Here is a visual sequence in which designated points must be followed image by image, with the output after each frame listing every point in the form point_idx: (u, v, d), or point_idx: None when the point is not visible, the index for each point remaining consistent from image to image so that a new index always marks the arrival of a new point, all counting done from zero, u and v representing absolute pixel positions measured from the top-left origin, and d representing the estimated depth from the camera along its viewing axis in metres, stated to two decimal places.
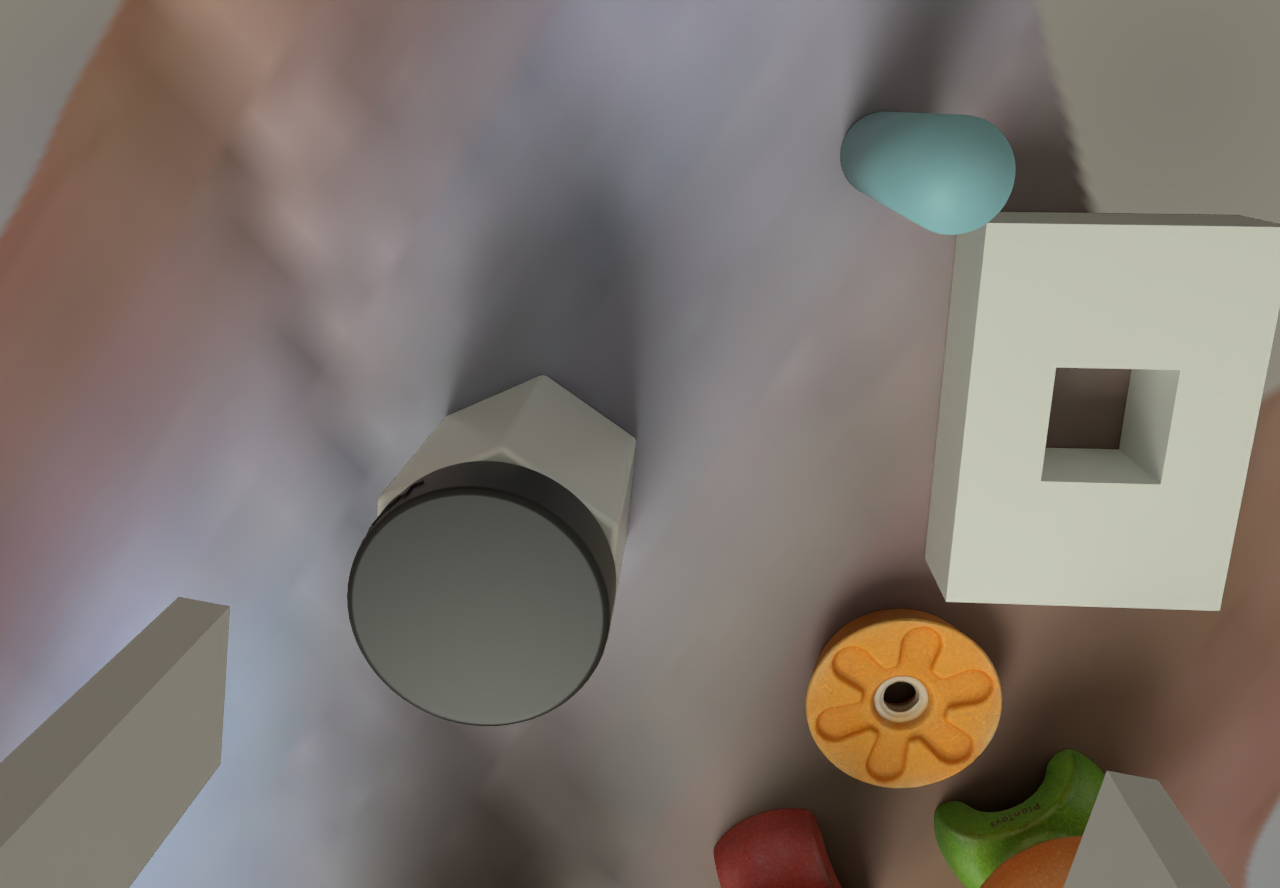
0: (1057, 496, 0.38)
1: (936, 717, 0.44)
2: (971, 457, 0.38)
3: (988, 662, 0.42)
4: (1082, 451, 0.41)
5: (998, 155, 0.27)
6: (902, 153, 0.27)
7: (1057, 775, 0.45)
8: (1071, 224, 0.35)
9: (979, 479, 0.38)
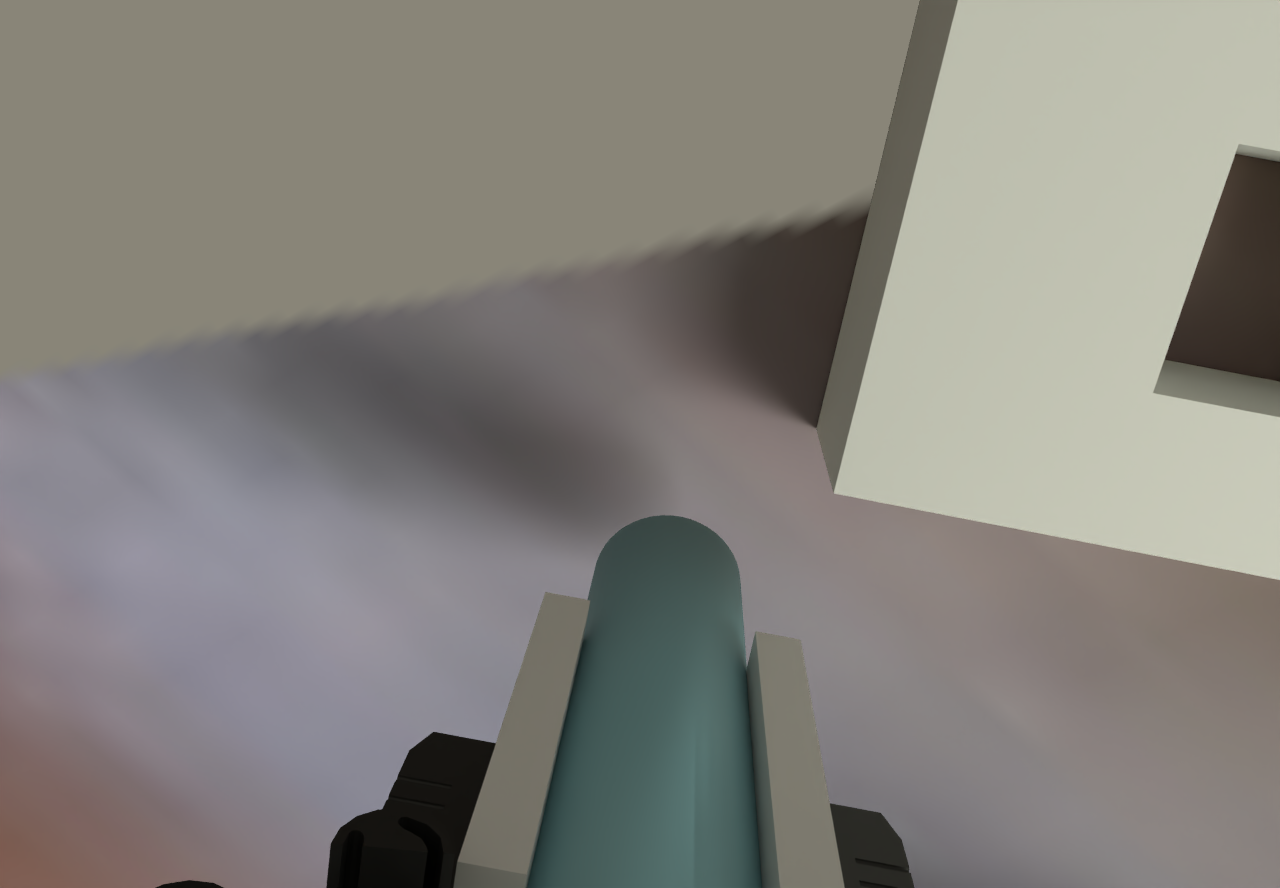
0: None
1: None
2: None
3: None
4: None
5: None
6: None
7: None
8: (871, 344, 0.18)
9: None
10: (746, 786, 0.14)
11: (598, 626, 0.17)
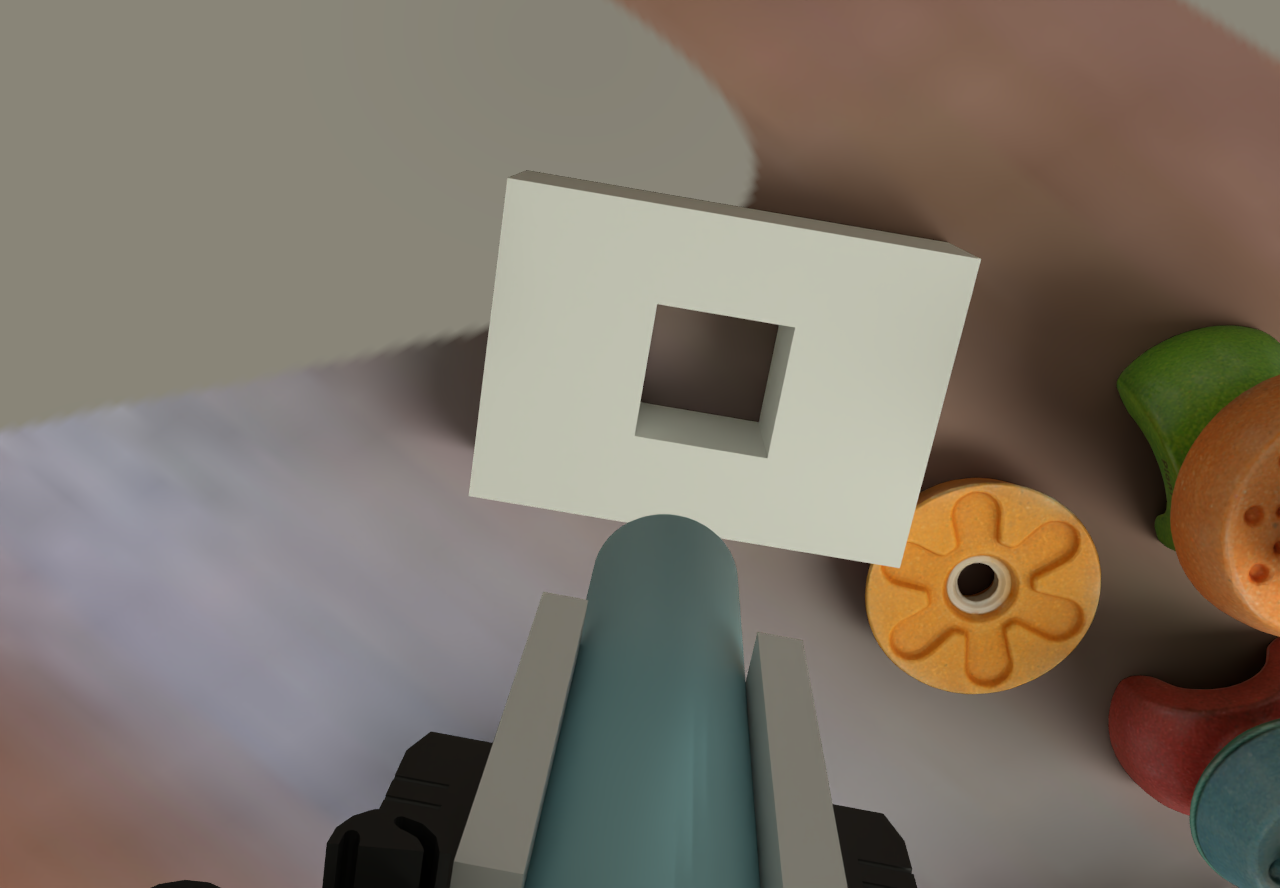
0: (790, 441, 0.33)
1: (1010, 554, 0.36)
2: (725, 528, 0.34)
3: (945, 495, 0.35)
4: (775, 350, 0.35)
5: None
6: None
7: (1138, 416, 0.35)
8: (479, 412, 0.33)
9: (753, 521, 0.33)
10: (743, 779, 0.14)
11: (596, 622, 0.18)
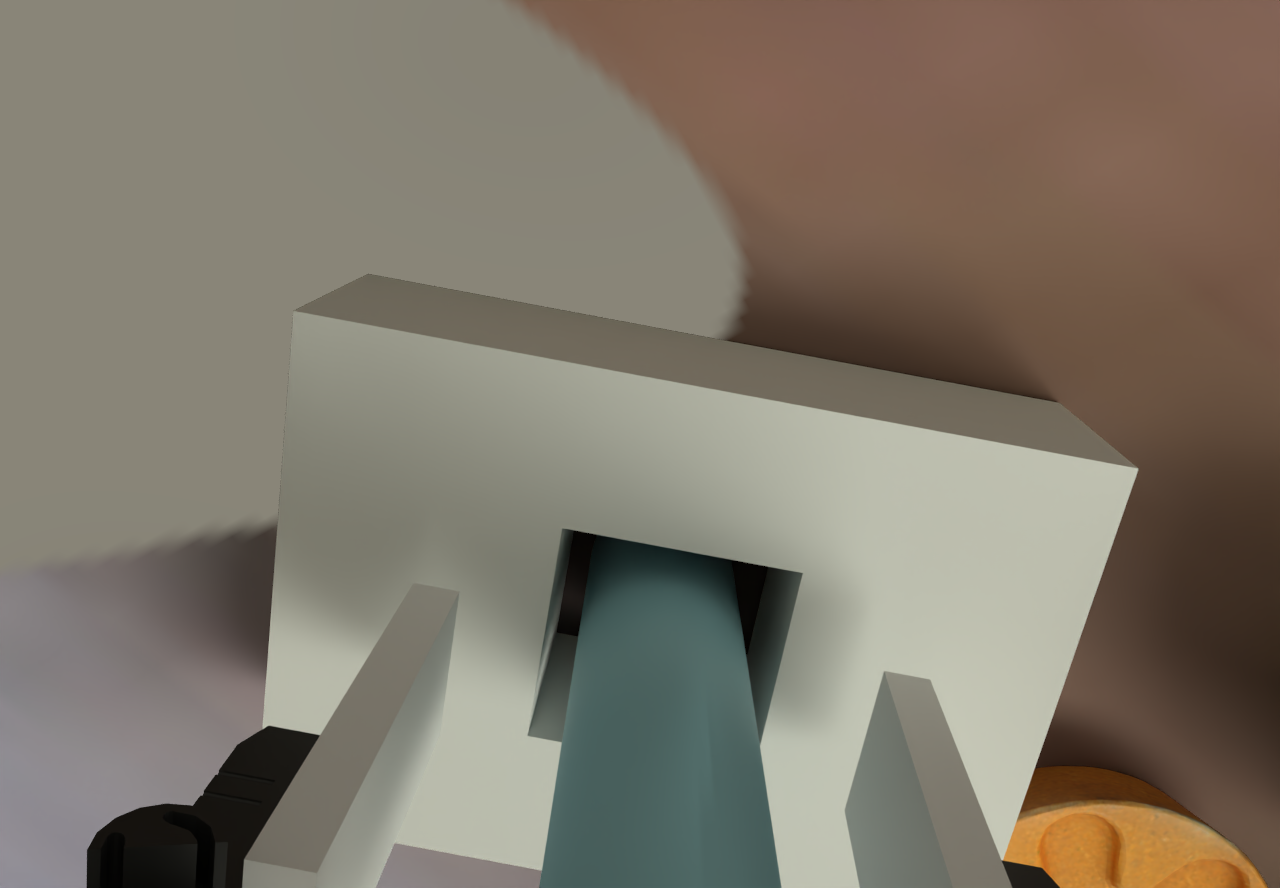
0: (791, 753, 0.19)
1: None
2: None
3: (1030, 819, 0.22)
4: None
5: None
6: None
7: None
8: (267, 690, 0.19)
9: None
10: (754, 744, 0.15)
11: (603, 601, 0.18)
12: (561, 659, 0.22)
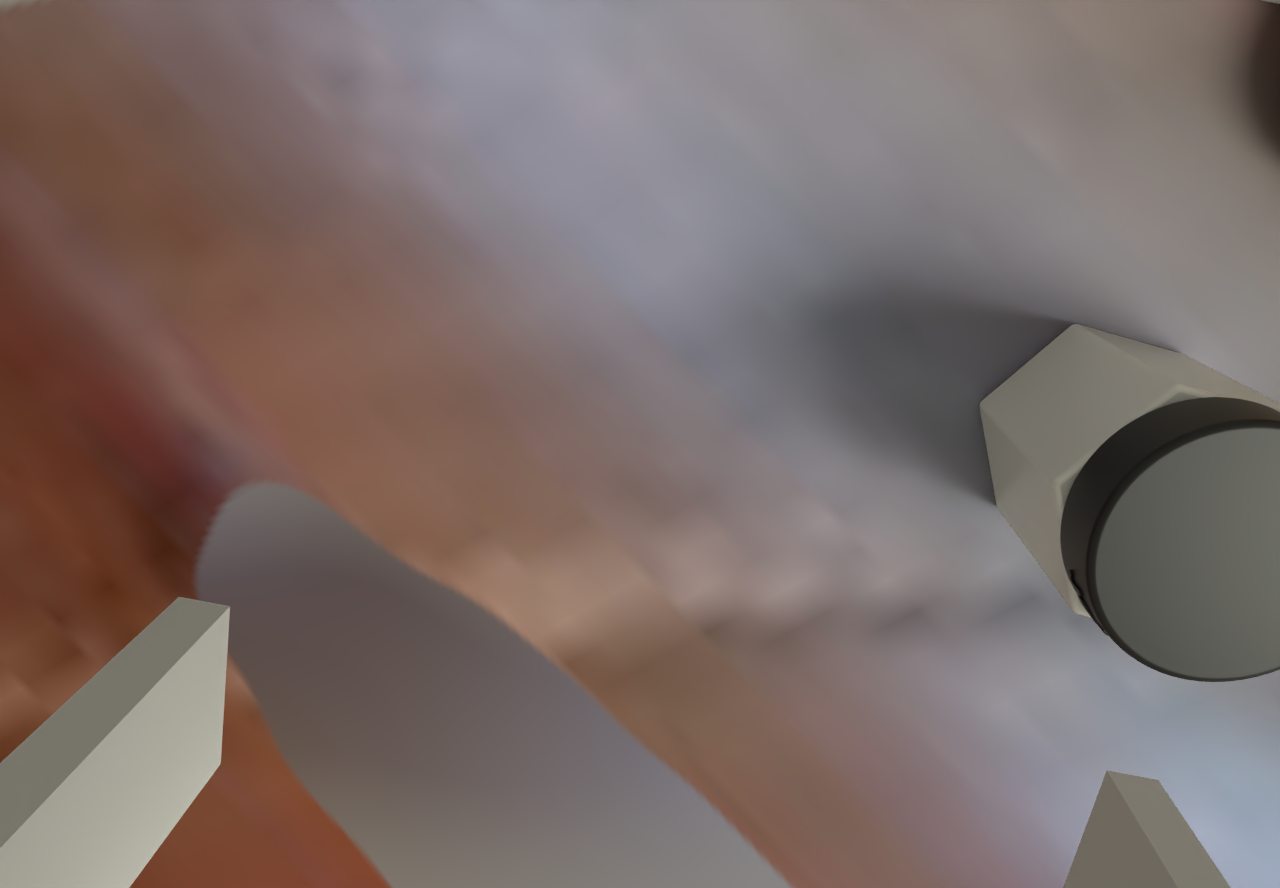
0: None
1: None
2: None
3: None
4: None
5: None
6: None
7: None
8: None
9: None
10: None
11: None
12: None
